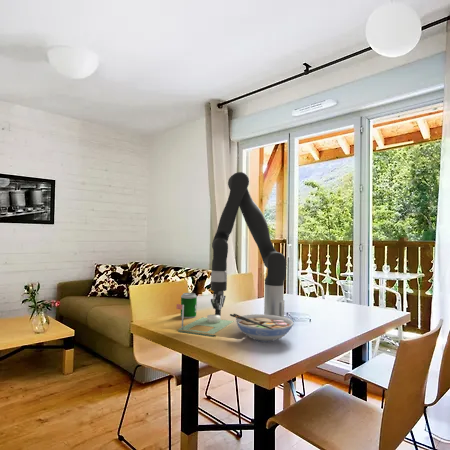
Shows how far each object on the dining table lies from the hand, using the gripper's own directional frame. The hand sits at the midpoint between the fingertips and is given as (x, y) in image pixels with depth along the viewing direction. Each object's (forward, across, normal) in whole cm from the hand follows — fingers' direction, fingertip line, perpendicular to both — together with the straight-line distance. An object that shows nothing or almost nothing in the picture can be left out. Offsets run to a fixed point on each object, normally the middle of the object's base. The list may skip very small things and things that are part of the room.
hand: (217, 317), depth 165 cm
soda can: (+2, -1, +15) cm, 15 cm away
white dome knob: (+1, -5, 0) cm, 5 cm away
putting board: (+2, -12, 0) cm, 12 cm away
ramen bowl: (+2, -18, -27) cm, 33 cm away
